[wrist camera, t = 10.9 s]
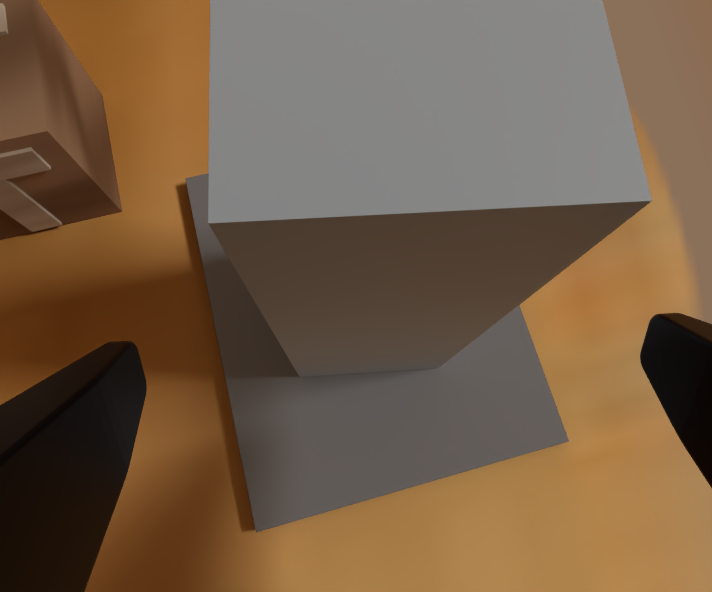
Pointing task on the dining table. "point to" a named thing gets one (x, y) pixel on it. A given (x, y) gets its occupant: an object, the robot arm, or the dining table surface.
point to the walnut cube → (49, 129)
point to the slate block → (411, 166)
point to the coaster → (365, 406)
